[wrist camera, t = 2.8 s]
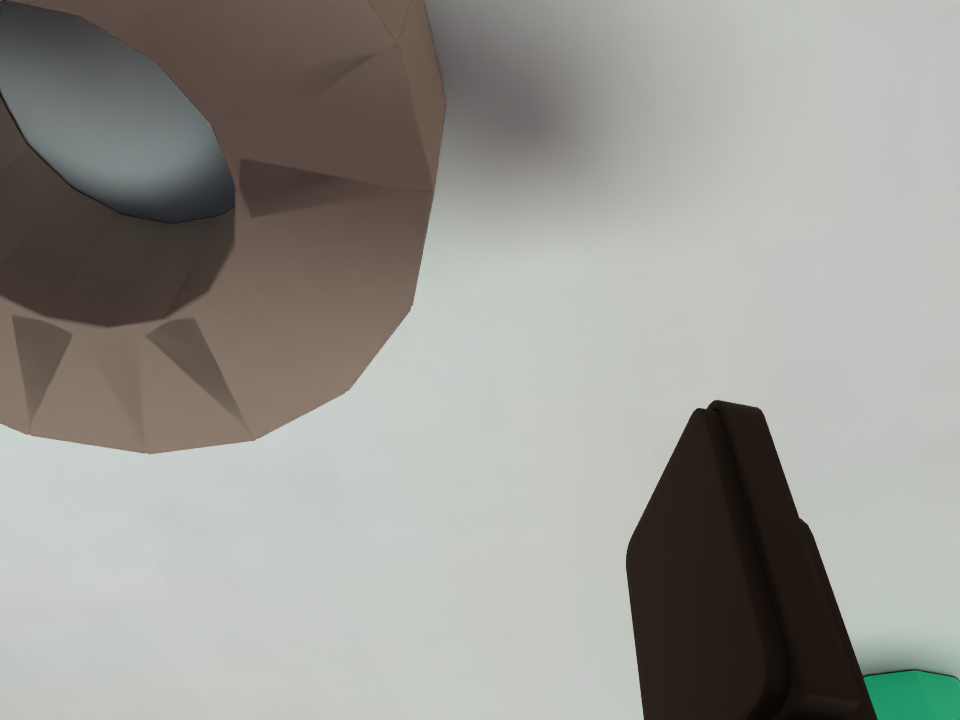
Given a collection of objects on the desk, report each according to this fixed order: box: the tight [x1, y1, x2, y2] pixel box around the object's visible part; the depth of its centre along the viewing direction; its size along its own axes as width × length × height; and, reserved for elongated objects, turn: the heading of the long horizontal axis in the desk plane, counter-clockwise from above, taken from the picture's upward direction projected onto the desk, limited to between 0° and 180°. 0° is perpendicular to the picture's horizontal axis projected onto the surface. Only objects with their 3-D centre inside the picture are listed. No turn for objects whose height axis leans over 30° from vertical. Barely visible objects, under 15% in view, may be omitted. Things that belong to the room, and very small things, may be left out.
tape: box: [0, 0, 446, 454], centre depth 15 cm, size 12×12×4 cm
